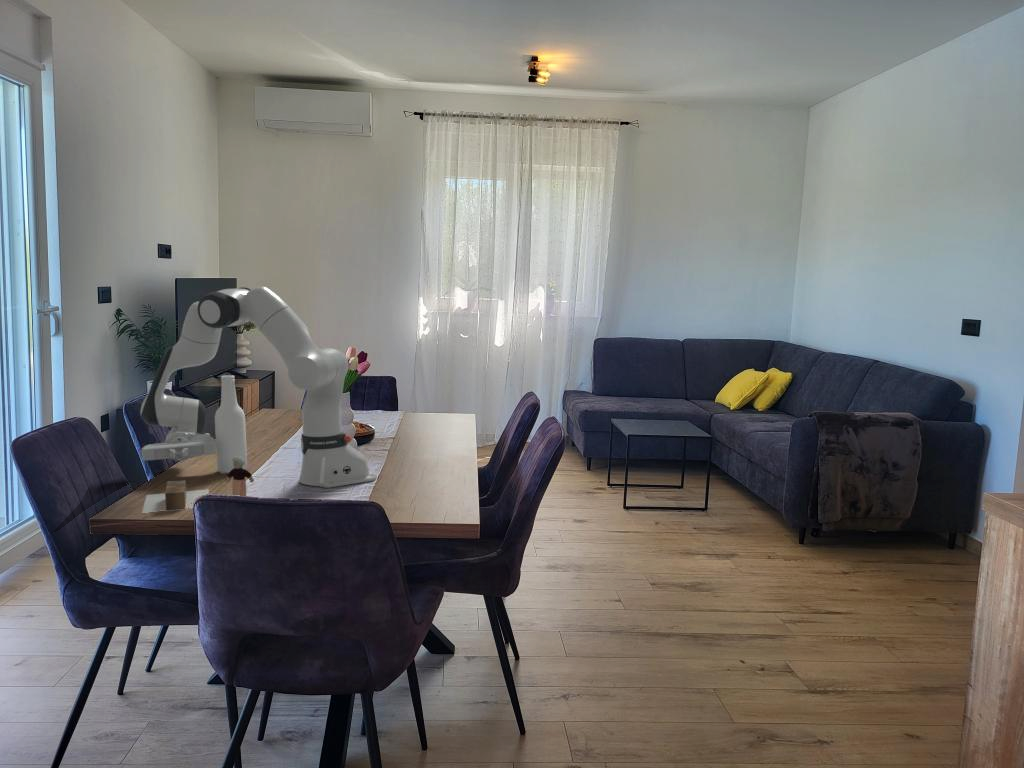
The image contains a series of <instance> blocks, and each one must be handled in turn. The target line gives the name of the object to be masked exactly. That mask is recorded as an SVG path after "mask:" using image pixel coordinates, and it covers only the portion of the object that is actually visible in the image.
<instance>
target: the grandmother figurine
mask: <svg viewBox="0 0 1024 768" xmlns="http://www.w3.org/2000/svg"><path fill="white" fill-rule="evenodd" d="M232 461H233V466H234V469H232V470H231V471H230V472H229V473H227V477H226V480H225V481H226V483H230V482H231V479H232V490H231V491H232V495H240V496H246V497H247V482H246V478H247V479H248V480H249V482H250V483H254V481H255V480H254V478H253V476H252V475H253V474H252V473H251V472H250V471H248V469H246V470H245V469H243V468H242V467H243V465H244V464H245V463H246V462H245V460H244V458H242V457H241V456H234V457H233V460H232Z"/></svg>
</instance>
